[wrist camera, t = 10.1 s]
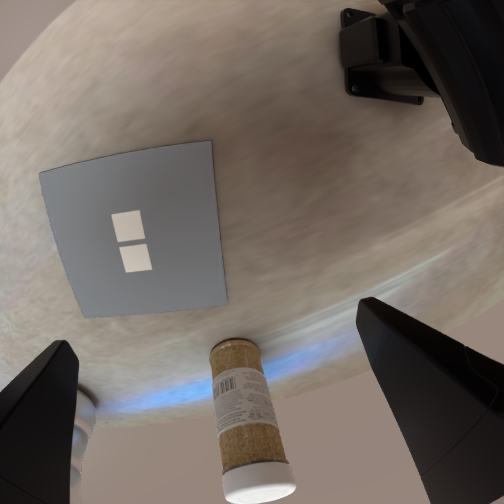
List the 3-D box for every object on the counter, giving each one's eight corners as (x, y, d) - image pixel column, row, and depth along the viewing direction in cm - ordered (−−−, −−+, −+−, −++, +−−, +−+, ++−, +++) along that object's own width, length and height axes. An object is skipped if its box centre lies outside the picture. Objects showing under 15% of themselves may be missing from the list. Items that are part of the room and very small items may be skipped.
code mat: (210, 140, 17) (211, 140, 17) (227, 303, 22) (227, 305, 22) (39, 173, 15) (38, 173, 15) (84, 316, 21) (84, 318, 21)
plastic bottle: (95, 416, 28) (81, 563, 10) (45, 395, 25) (15, 540, 8) (103, 391, 25) (86, 568, 8) (46, 367, 23) (4, 538, 5)
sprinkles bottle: (225, 376, 26) (246, 508, 15) (199, 349, 24) (210, 499, 12) (268, 358, 26) (306, 492, 14) (245, 328, 24) (282, 483, 12)
